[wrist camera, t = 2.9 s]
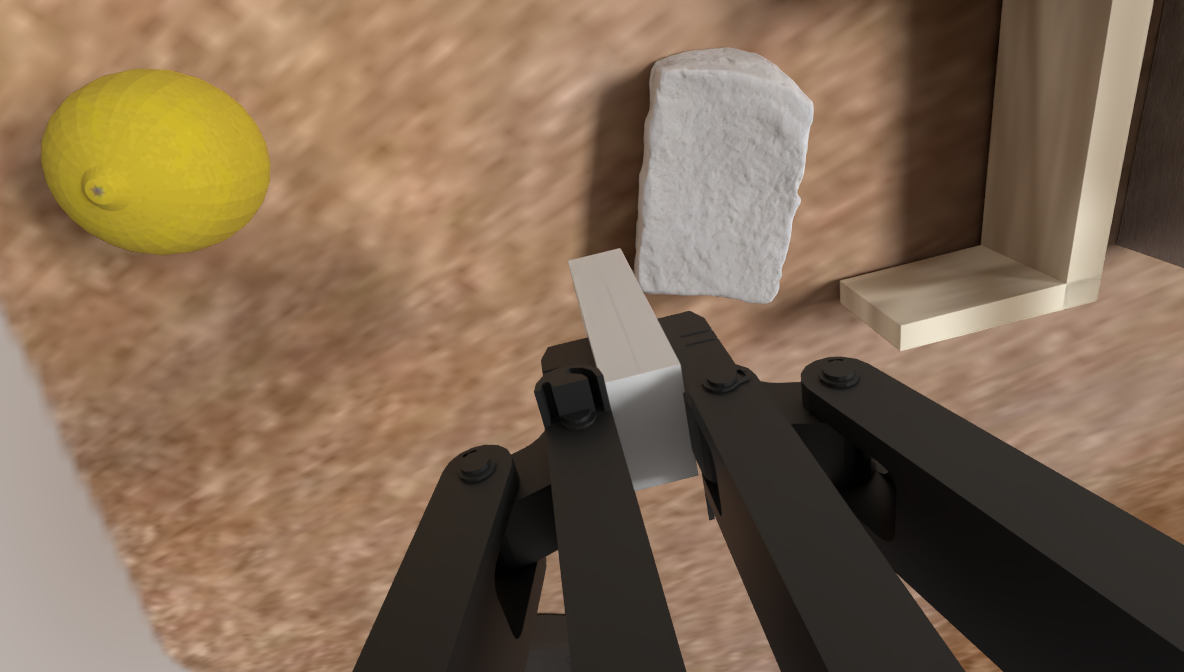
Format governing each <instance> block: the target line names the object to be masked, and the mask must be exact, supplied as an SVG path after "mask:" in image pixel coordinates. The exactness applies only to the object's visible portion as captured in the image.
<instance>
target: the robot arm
mask: <svg viewBox="0 0 1184 672" xmlns="http://www.w3.org/2000/svg"><path fill="white" fill-rule="evenodd" d="M568 263H569V267H570V271H571V275H572V279H573V283H574V288H575V292H576V296H577V300H578V304H579V308H580V312H581V317H582V321H583V325H584V329H585V333H586V337H587V338H584V339H580V340H575V341H571V342H567V343H563V344H559V345H555V346H551V347H548V348H547V350H546V352H545V354H544V355H543V357H542V359H541V364H542V372H543V377H542V378H541V379H540V380H539V381H538V382H537V383H536V386H535V390H534V393H535V397H536V400H537V403H538V407H539V410H540V413H541V417H542V420H543V423H544V427H545V431H544V432H543V433H542V435H541V436H540V437H539V438H538V439H537V440H536V441H534V442H533V443H532V444H530V445H529V446H527V447H525V448H524V449H522V450H520V451H518V452H516V453H513V454H510V453H509V451H508V450H507V449H506V448H503V447H501V446H499V445H482V446H478V447H474V448H471V449H469V450H467V451H465V452H463V453H460V454H459V455H458V456H457V457H455V458H454V459H453V460H451V461H450V462H449V464H448V465H447V466H446V468H445V469H444V471H443V473H442V475H441V477H440V479H439V481H438V484H437V486H436V488H435V490H434V492H433V495H432V497H431V499H430V501H429V503H428V506H427V508H426V510H425V512H424V515H423V517H422V519H421V521H420V523H419V526H418V528H417V530H416V532H415V534H414V537H413V539H412V541H411V543H410V545H409V548H408V550H407V552H406V554H405V557H404V559H403V561H402V563H401V565H400V568H399V570H398V572H397V574H396V576H395V579H394V581H393V583H392V585H391V587H390V590H389V592H388V594H387V596H386V598H385V601H384V603H383V605H382V607H381V610H380V612H379V614H378V616H377V618H376V621H375V623H374V625H373V627H372V629H371V632H370V634H369V636H368V638H367V640H366V643H365V645H364V647H363V649H362V652H361V654H360V656H359V658H358V660H357V663H356V665H355V667H354V669H353V671H352V672H686V669H685V665H684V662H683V658H682V655H681V651H680V648H679V644H678V641H677V637H676V634H675V630H674V627H673V623H672V620H671V616H670V613H669V609H668V606H667V602H666V599H665V596H664V592H663V589H662V585H661V582H660V578H659V575H658V571H657V568H656V564H655V561H654V557H653V554H652V550H651V547H650V543H649V540H648V536H647V533H646V529H645V526H644V522H643V519H642V515H641V512H640V508H639V505H638V501H637V498H636V494H635V491H638V490H642V489H646V488H650V487H654V486H658V485H662V484H666V483H669V482H673V481H677V480H681V479H685V478H689V477H693V476H697V475H698V470H697V464H696V460H697V463H698V465H699V467H700V469H701V472H702V477H703V483H704V490H705V496H706V502H707V509H708V515H709V520H713V519H715V517H716V520H717V522H718V524H719V527H720V529H721V531H722V534H723V536H724V538H725V541H726V543H727V546H728V548H729V550H730V553H731V555H732V557H733V560H734V562H735V564H736V567H737V569H738V571H739V574H740V576H741V578H742V581H743V583H744V586H745V588H746V590H747V593H748V595H749V597H750V600H751V602H752V604H753V607H754V609H755V611H756V614H757V616H758V618H759V621H760V623H761V626H762V628H763V630H764V633H765V635H766V637H767V640H768V642H769V644H770V647H771V649H772V651H773V654H774V656H775V659H776V661H777V663H778V666H779V668H780V670H781V672H965V670H964V669H963V668H962V666H961V665H960V663H959V662H958V661H957V659H956V658H955V656H954V655H953V653H952V652H951V651H950V649H949V648H948V646H947V645H946V644H945V642H944V641H943V639H942V638H941V636H940V635H939V634H938V632H937V631H936V629H935V628H934V627H933V625H932V624H931V622H930V621H929V619H928V618H927V617H926V615H925V614H924V612H923V611H922V610H921V608H920V607H919V605H918V604H917V602H916V601H915V600H914V598H913V597H912V595H911V594H910V593H909V591H908V590H907V588H906V587H905V585H904V584H903V583H902V581H901V580H900V578H899V577H898V576H897V574H898V575H899V576H900V577H901V578H902V579H903V580H904V581H905V582H906V583H908V584H909V585H910V586H911V587H912V588H913V589H914V590H915V591H916V592H917V593H918V594H920V595H921V596H922V597H923V598H924V599H925V600H926V601H927V602H928V603H929V604H930V605H931V606H933V607H934V608H935V609H936V610H937V611H938V612H939V613H940V614H941V615H942V616H943V617H945V618H946V619H947V620H948V621H949V622H950V623H951V624H952V625H953V626H954V627H955V628H957V629H958V630H959V631H960V632H961V633H962V634H963V635H964V636H965V637H966V638H967V639H968V640H970V641H971V642H972V643H973V644H974V645H975V646H976V647H977V648H978V649H979V650H980V651H982V652H983V653H984V654H985V655H986V656H987V657H988V658H989V659H990V660H991V661H992V662H993V663H995V664H996V665H997V666H998V667H999V668H1000V669H1001V670H1002V671H1003V672H1184V545H1183V544H1181V543H1179V542H1177V541H1176V540H1174V539H1172V538H1170V537H1169V536H1167V535H1165V534H1163V533H1162V532H1160V531H1158V530H1157V529H1155V528H1153V527H1151V526H1150V525H1148V524H1146V523H1144V522H1143V521H1141V520H1139V519H1137V518H1136V517H1134V516H1132V515H1130V514H1129V513H1127V512H1125V511H1123V510H1122V509H1120V508H1118V507H1117V506H1115V505H1113V504H1111V503H1110V502H1108V501H1106V500H1104V499H1103V498H1101V497H1099V496H1097V495H1096V494H1094V493H1092V492H1090V491H1089V490H1087V489H1085V488H1083V487H1082V486H1080V485H1078V484H1077V483H1075V482H1073V481H1071V480H1070V479H1068V478H1066V477H1064V476H1063V475H1061V474H1059V473H1057V472H1056V471H1054V470H1052V469H1050V468H1049V467H1047V466H1045V465H1044V464H1042V463H1040V462H1038V461H1037V460H1035V459H1033V458H1031V457H1030V456H1028V455H1026V454H1024V453H1023V452H1021V451H1019V450H1017V449H1016V448H1014V447H1012V446H1010V445H1009V444H1007V443H1005V442H1004V441H1002V440H1000V439H998V438H997V437H995V436H993V435H991V434H990V433H988V432H986V431H984V430H983V429H981V428H979V427H977V426H976V425H974V424H972V423H970V422H969V421H967V420H965V419H964V418H962V417H960V416H958V415H957V414H955V413H953V412H951V411H950V410H948V409H946V408H944V407H943V406H941V405H939V404H937V403H936V402H934V401H932V400H930V399H929V398H927V397H925V396H924V395H922V394H920V393H918V392H917V391H915V390H913V389H911V388H910V387H908V386H906V385H904V384H903V383H901V382H899V381H897V380H896V379H894V378H892V377H891V376H889V375H887V374H885V373H884V372H882V371H880V370H878V369H877V368H875V367H873V366H871V365H870V364H868V363H865V362H863V361H860V360H858V359H854V358H847V357H828V358H824V359H820V360H817V361H814V362H812V363H811V364H809V365H807V366H806V367H805V368H804V370H803V371H802V373H801V382H791V383H768V382H762V381H760V380H759V379H758V377H757V376H756V374H754V373H753V372H752V371H751V370H750V369H748V368H746V367H743V366H740V365H736V364H735V363H734V361H733V360H732V358H731V357H730V355H729V354H728V352H727V351H726V349H725V348H724V347H723V345H722V344H721V342H720V341H719V339H717V336H716V335H715V333H714V332H713V330H711V327H710V326H709V324H708V323H707V321H706V320H705V318H703V317H701V316H699V315H697V314H695V313H693V312H691V311H687V312H683V313H679V314H675V315H671V316H667V317H663V318H659V319H657V318H656V316H655V314H654V312H653V310H652V308H651V306H650V304H649V302H648V301H647V299H646V297H645V295H644V293H643V291H642V289H641V287H640V285H639V283H638V281H637V279H636V277H635V275H634V273H633V272H632V270H631V268H630V266H629V264H628V262H627V260H626V258H625V256H624V254H623V252H622V250H621V248H618V249H614V250H610V251H606V252H602V253H598V254H594V255H590V256H586V257H581V258H577V259H573V260H569V261H568ZM714 515H715V517H714ZM557 550H558V552H559V561H560V570H561V579H562V588H563V597H564V606H565V615H566V616H563V615H537V610H538V605H539V600H540V595H541V591H542V586H543V581H544V576H545V571H546V556H548V555H549V554H551V553H553V552H555V551H557ZM895 572H896V573H897V574H896V573H895Z"/></svg>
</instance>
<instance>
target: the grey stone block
mask: <svg viewBox="0 0 1184 672" xmlns="http://www.w3.org/2000/svg"><path fill="white" fill-rule="evenodd" d="M649 89H650V109H649V113H648V115H647V117H646V119H645V125H644V128H645V130H644V157H643V164H642V168H641V171H640V173H639V198H638V219H637V225H636V240H635V247H636V256H635V263H634V275H635V277H636V279H637V281H638V283H639V285H640V287H641V289H642V291H643V293H647V294H668V295H670V294H671V295H681V296H683V295H686V296H687V295H710V296H717V297H720V296H721V297H726V298H731V299H738V300H741V301H744V302H748V303H760V304H766V303H769V302H771V301H772V300H773V298H774V297H775V296H776V295H777V293H778V289H779V280H780V278H781V276H782V272H781V268H782V266H783V263H784V261H785V258H786V254H787V251H788V246H789V241H790V238H791V229H792V221H793V217H794V215H795V212H796V210H797V208H798V206H799V205H800V202H801V199H800V197H799V196H798V194H797V190H798V188H799V185H800V183H801V180H802V178H803V174H804V168H805V157H806V152H807V146H808V137H809V131H810V126H811V124H812V121H813V112H814V108H813V102H812V101H811V100H810V99H809V98H808V97H807V96H806V95H805V94H804V93H803V92H802V91H801V90H800V88H799V87H798V86H797V84H796V83H795V82H794V81H793V80H792V79H791V78H790V77H788V76H787V75H786V74H785V73H784V72H782V71H781V70H780V69H779V68H778V66H776V65H775V64H773V63H772V62H770V61H769V60H767V59H766V58H764V57H762V56H760V55H758V54H756V53H753V52H746V51H743V50H740V49H736V48H730V47H723V48H715V49H706V50H693V51H687V52H682V53H679V54H676V55H672V56H669V57H667V58H664V59H661V60H659V61H657V62H656V63H655V64H654V66H653V67H652V69H651V74H650V81H649Z"/></svg>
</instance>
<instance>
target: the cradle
mask: <svg viewBox="0 0 1184 672" xmlns="http://www.w3.org/2000/svg"><path fill="white" fill-rule="evenodd" d="M1153 2H1154V0H1003V4H1002V15H1001V26H1000V37H999V49H998V60H997V71H996V82H995V93H994V104H993V115H992V126H991V138H990V149H989V160H988V171H987V182H986V193H985V204H984V215H983V226H982V238H981V245H979V246H975V247H971V248H967V249H963V250H959V251H956V252H952V253H948V254H944V255H940V256H936V257H932V258H928V259H924V260H920V261H916V262H912V263H908V264H904V265H900V266H896V267H892V268H888V269H884V270H880V271H876V272H872V273H868V274H864V275H860V276H856V277H852V278H848V279H844V280H840V303H841V304H842V305H843V306H844V307H846V308H847V309H848V310H849V311H851V312H852V313H853V314H854V315H856V316H857V317H858V318H859V319H861V320H862V321H863V322H864V323H866V324H867V325H868V326H869V327H871V328H872V329H873V330H874V331H876V332H877V333H878V334H879V335H881V336H882V337H883V338H884V339H886V340H887V341H888V342H889V343H891V344H892V345H893V346H894V347H896V348H897V349H898V350H899V351H903V350H907V349H911V348H915V347H919V346H923V345H926V344H930V343H934V342H938V341H942V340H946V339H950V338H954V337H958V336H962V335H965V334H969V333H973V332H977V331H981V330H985V329H989V328H993V327H997V326H1001V325H1005V324H1008V323H1012V322H1016V321H1020V320H1024V319H1028V318H1032V317H1036V316H1040V315H1044V314H1048V313H1051V312H1055V311H1059V310H1063V309H1067V308H1071V307H1075V306H1079V305H1083V304H1087V303H1091V302H1094V301H1097V297H1098V291H1099V286H1100V281H1101V276H1102V270H1103V265H1104V260H1105V254H1106V249H1107V244H1108V239H1109V233H1110V228H1111V223H1112V218H1113V212H1114V207H1115V202H1116V197H1117V191H1118V186H1119V181H1120V176H1121V170H1122V165H1123V160H1124V155H1125V149H1126V144H1127V139H1128V134H1129V128H1130V123H1131V118H1132V113H1133V107H1134V102H1135V97H1136V92H1137V86H1138V81H1139V76H1140V71H1141V65H1142V60H1143V55H1144V50H1145V44H1146V39H1147V34H1148V29H1149V23H1150V18H1151V13H1152V7H1153Z"/></svg>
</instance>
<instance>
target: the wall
mask: <svg viewBox="0 0 1184 672" xmlns="http://www.w3.org/2000/svg"><path fill="white" fill-rule="evenodd" d="M1117 245H1119V246H1122V247H1125V248H1128V249H1131V250H1133V251H1136V252H1139V253H1142V254H1145V255H1148V256H1151V257H1154V258H1156V259H1159V260H1162V261H1165V262H1168V263H1171V264H1174V265H1177V266H1179V267H1182V268H1184V0H1165V2H1164V7H1163V12H1162V17H1161V23H1160V28H1159V33H1158V38H1157V43H1156V48H1155V53H1154V58H1153V63H1152V68H1151V73H1150V78H1149V83H1148V88H1147V93H1146V98H1145V103H1144V109H1143V114H1142V119H1141V124H1140V129H1139V134H1138V139H1137V144H1136V149H1135V154H1134V159H1133V164H1132V169H1131V174H1130V179H1129V184H1128V190H1127V195H1126V200H1125V205H1124V210H1123V215H1122V220H1121V225H1120V230H1119V235H1118V240H1117Z"/></svg>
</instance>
